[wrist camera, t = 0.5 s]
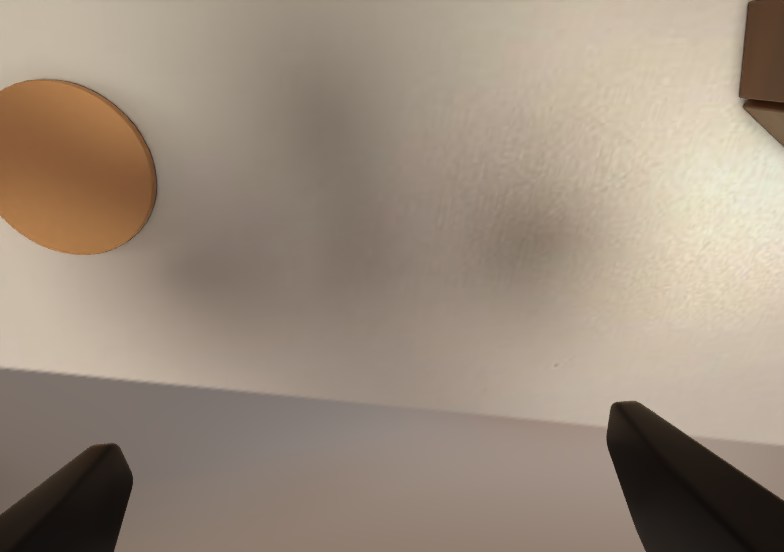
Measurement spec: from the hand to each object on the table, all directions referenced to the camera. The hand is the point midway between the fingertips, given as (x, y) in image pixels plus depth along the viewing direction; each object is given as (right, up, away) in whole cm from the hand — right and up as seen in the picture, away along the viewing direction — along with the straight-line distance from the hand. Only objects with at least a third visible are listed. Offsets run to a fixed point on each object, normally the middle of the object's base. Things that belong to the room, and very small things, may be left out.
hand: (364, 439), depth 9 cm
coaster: (-12, +7, +10) cm, 17 cm away
